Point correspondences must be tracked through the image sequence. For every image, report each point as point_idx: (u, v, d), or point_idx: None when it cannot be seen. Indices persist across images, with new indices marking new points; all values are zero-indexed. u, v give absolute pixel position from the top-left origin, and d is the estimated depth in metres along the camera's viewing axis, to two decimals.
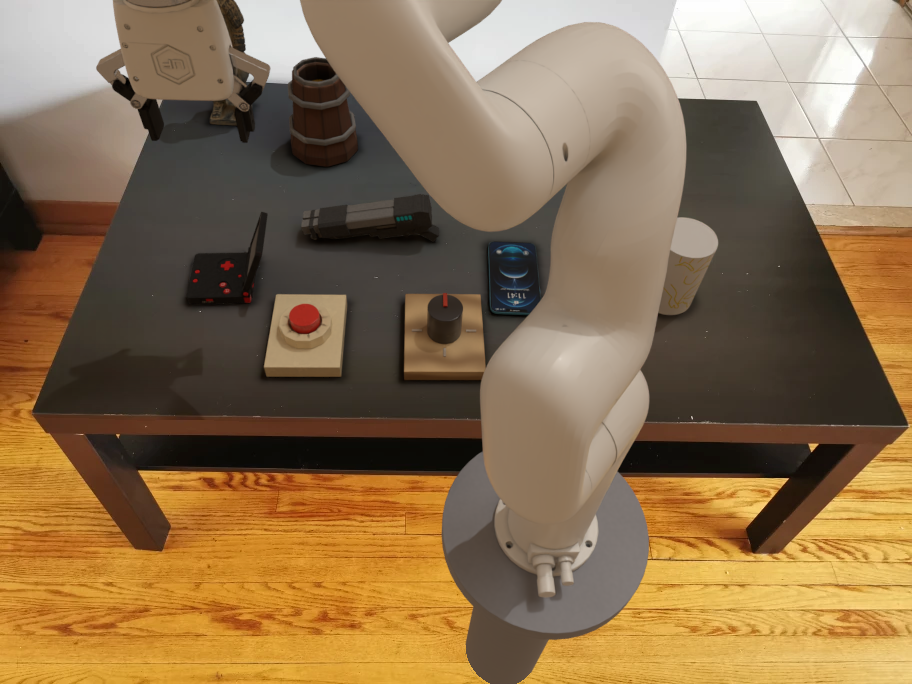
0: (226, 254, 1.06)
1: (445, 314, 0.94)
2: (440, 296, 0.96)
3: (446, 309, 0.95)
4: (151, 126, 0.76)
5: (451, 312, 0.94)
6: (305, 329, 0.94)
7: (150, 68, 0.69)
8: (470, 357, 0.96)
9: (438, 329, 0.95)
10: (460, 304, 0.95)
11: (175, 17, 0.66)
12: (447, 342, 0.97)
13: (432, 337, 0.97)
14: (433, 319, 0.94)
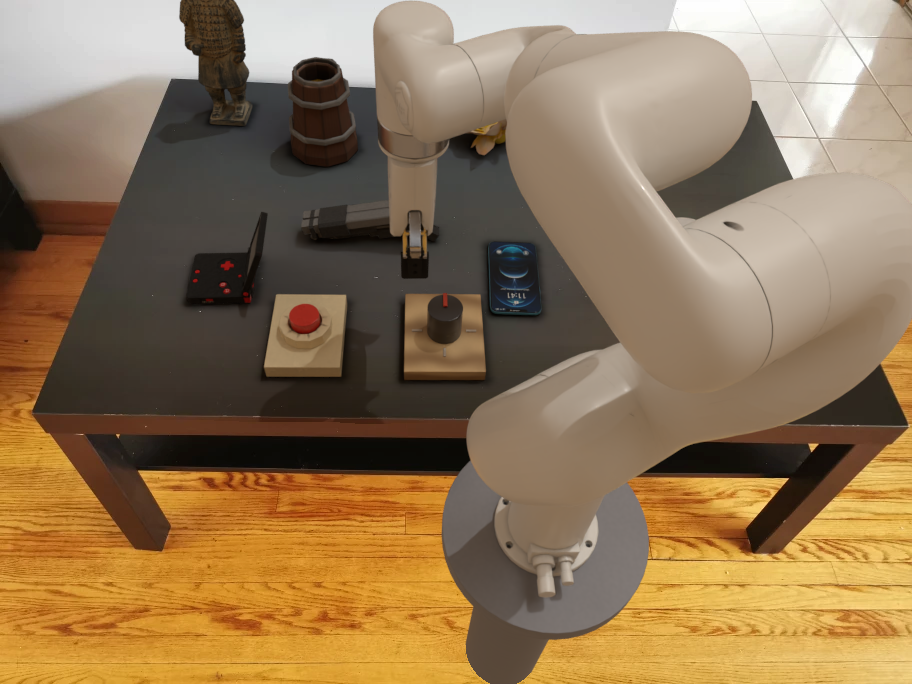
0: (226, 254, 1.06)
1: (445, 314, 0.94)
2: (440, 296, 0.96)
3: (446, 309, 0.95)
4: None
5: (451, 312, 0.94)
6: (305, 329, 0.94)
7: None
8: (470, 357, 0.96)
9: (438, 329, 0.95)
10: (460, 304, 0.95)
11: (388, 156, 0.74)
12: (447, 342, 0.97)
13: (432, 337, 0.97)
14: (433, 319, 0.94)
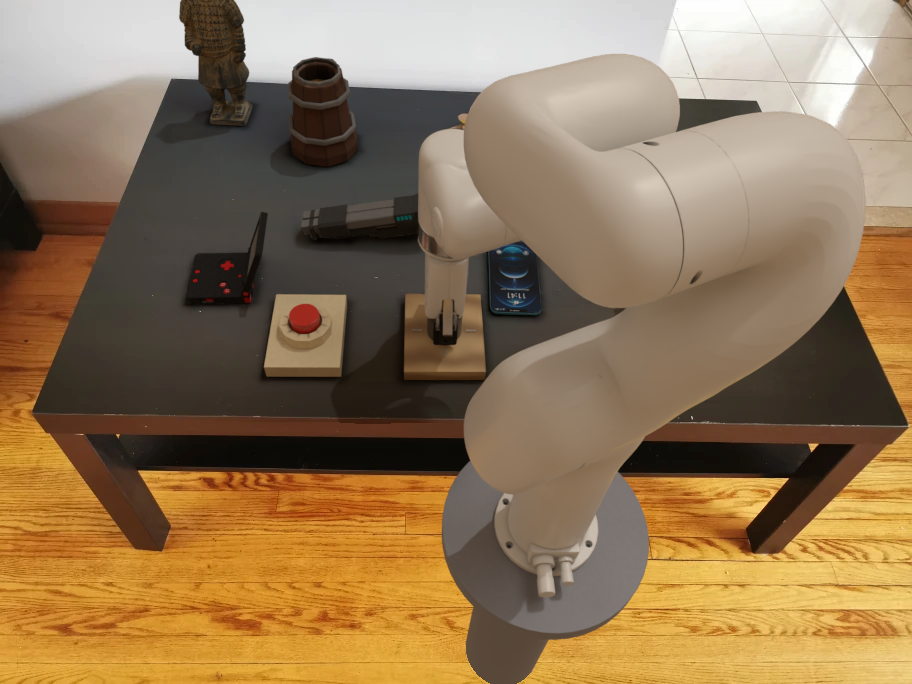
0: (226, 254, 1.06)
1: None
2: None
3: None
4: None
5: None
6: (305, 329, 0.94)
7: None
8: (470, 357, 0.96)
9: None
10: None
11: None
12: None
13: (432, 337, 0.97)
14: (433, 319, 0.94)
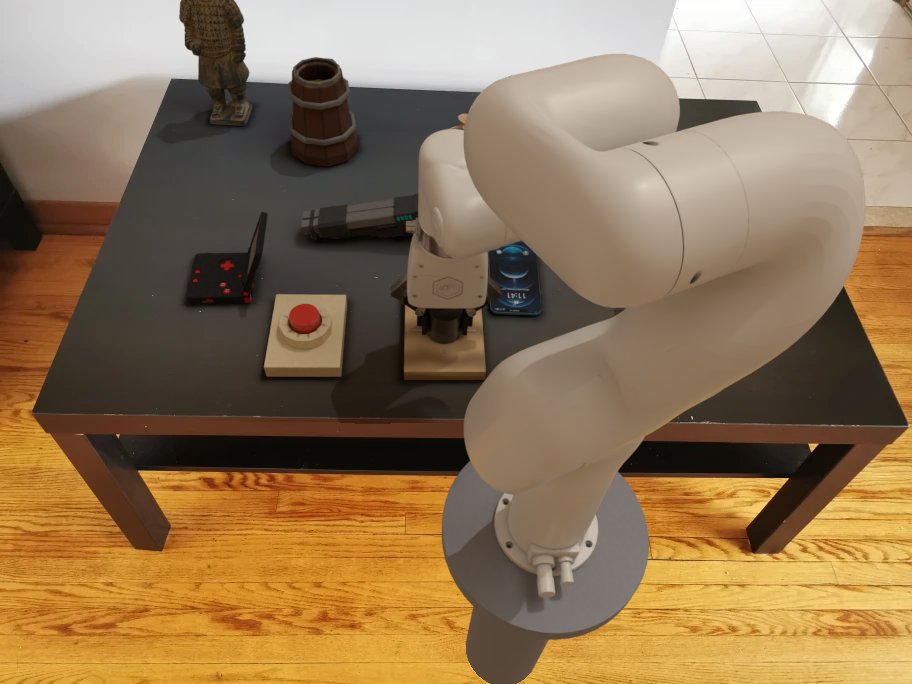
0: (226, 254, 1.06)
1: None
2: (430, 310, 0.94)
3: None
4: (425, 326, 0.95)
5: None
6: (305, 329, 0.94)
7: (428, 290, 0.88)
8: (470, 357, 0.96)
9: (461, 322, 0.96)
10: None
11: (461, 260, 0.84)
12: None
13: (457, 337, 0.97)
14: (458, 318, 0.94)
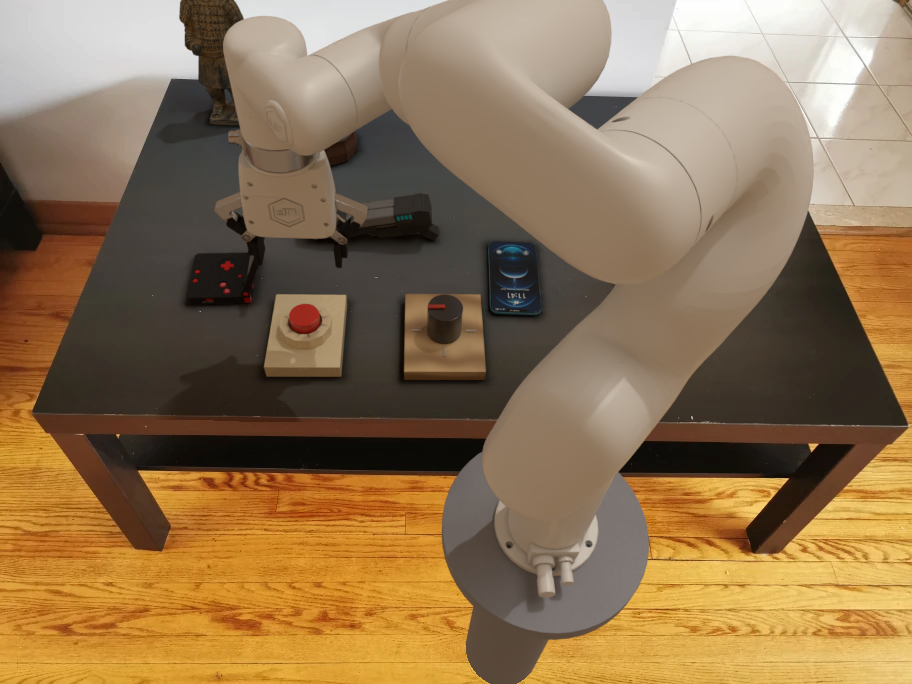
0: (226, 254, 1.06)
1: (454, 307, 0.95)
2: (430, 311, 0.94)
3: (447, 306, 0.95)
4: (257, 255, 0.84)
5: (452, 302, 0.95)
6: (305, 329, 0.94)
7: (265, 214, 0.78)
8: (470, 357, 0.96)
9: (461, 322, 0.96)
10: (440, 295, 0.96)
11: (294, 177, 0.74)
12: None
13: (457, 336, 0.97)
14: (458, 318, 0.94)
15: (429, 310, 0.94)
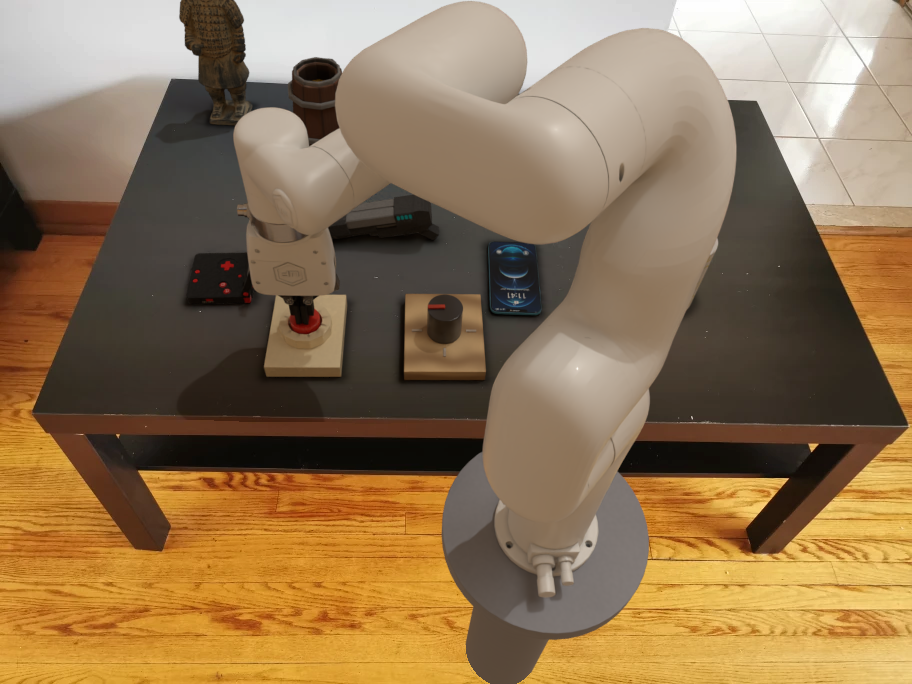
0: (226, 254, 1.06)
1: (454, 307, 0.95)
2: (430, 311, 0.94)
3: (447, 306, 0.95)
4: (298, 315, 0.93)
5: (452, 302, 0.95)
6: (305, 332, 0.95)
7: (271, 276, 0.85)
8: (470, 357, 0.96)
9: (461, 322, 0.96)
10: (440, 295, 0.96)
11: (297, 245, 0.81)
12: None
13: (457, 336, 0.97)
14: (458, 318, 0.94)
15: (429, 310, 0.94)
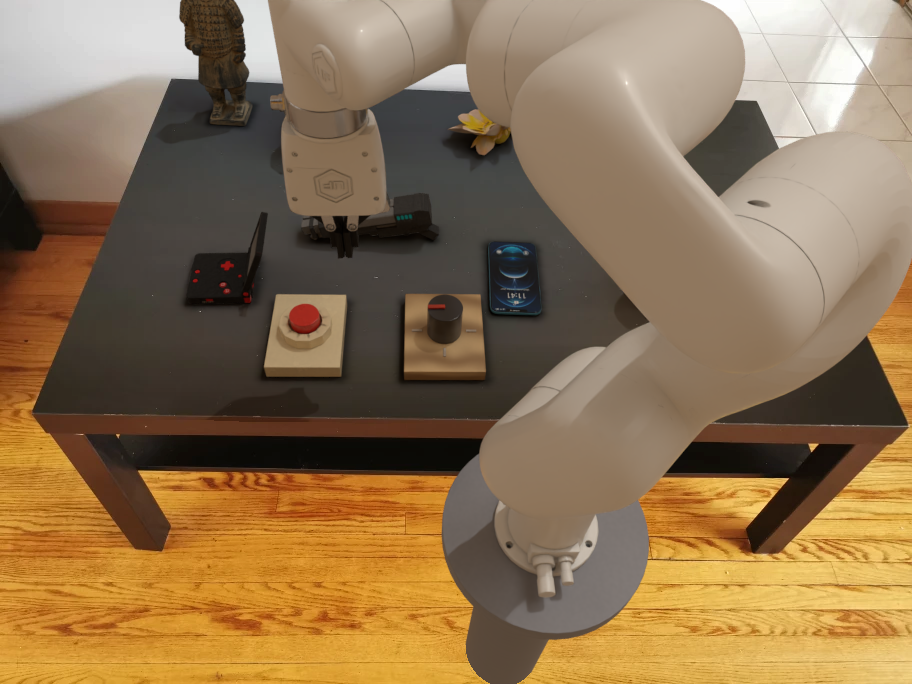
0: (226, 254, 1.06)
1: (454, 307, 0.95)
2: (430, 311, 0.94)
3: (447, 306, 0.95)
4: (340, 246, 0.78)
5: (452, 302, 0.95)
6: (305, 329, 0.94)
7: (310, 189, 0.71)
8: (470, 357, 0.96)
9: (461, 322, 0.96)
10: (440, 295, 0.96)
11: (343, 144, 0.67)
12: None
13: (457, 336, 0.97)
14: (458, 318, 0.94)
15: (429, 310, 0.94)
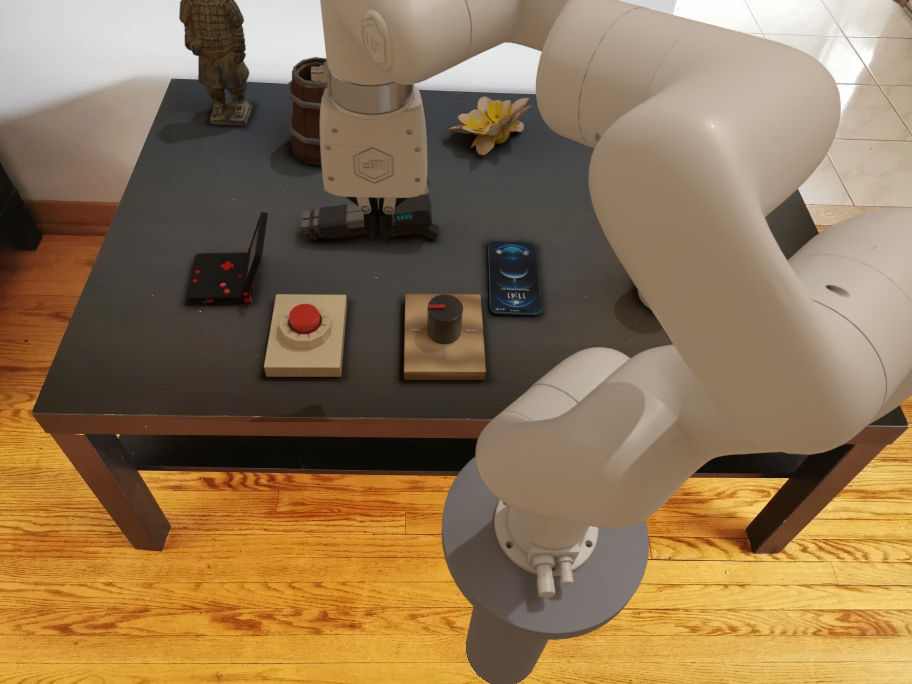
0: (226, 254, 1.06)
1: (454, 307, 0.95)
2: (430, 311, 0.94)
3: (447, 306, 0.95)
4: (375, 229, 0.74)
5: (452, 302, 0.95)
6: (305, 329, 0.94)
7: (349, 168, 0.67)
8: (470, 357, 0.96)
9: (461, 322, 0.96)
10: (440, 295, 0.96)
11: (386, 121, 0.63)
12: None
13: (457, 336, 0.97)
14: (458, 318, 0.94)
15: (429, 310, 0.94)
